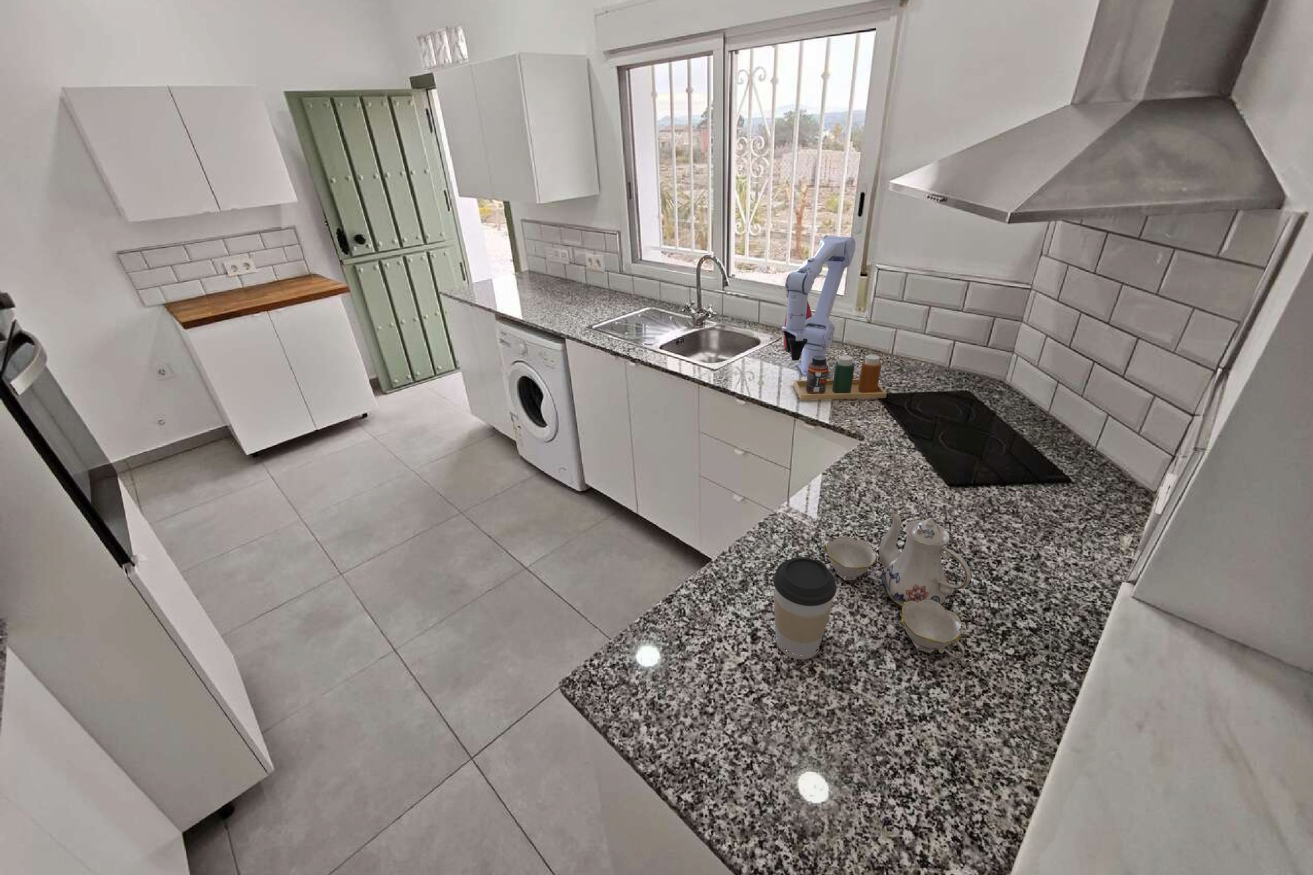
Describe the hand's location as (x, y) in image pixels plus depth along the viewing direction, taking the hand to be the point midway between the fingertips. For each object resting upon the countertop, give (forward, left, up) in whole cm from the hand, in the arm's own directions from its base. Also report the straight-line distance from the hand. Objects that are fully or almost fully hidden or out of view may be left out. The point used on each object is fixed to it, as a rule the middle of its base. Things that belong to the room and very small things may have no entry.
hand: (792, 355), depth 169 cm
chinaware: (+93, +2, -11) cm, 93 cm away
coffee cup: (+102, -17, -11) cm, 104 cm away
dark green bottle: (+6, +15, -10) cm, 19 cm away
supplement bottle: (+6, +7, -10) cm, 13 cm away
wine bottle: (-36, +9, -11) cm, 39 cm away
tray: (+6, +14, -10) cm, 18 cm away
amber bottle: (+6, +23, -10) cm, 25 cm away
